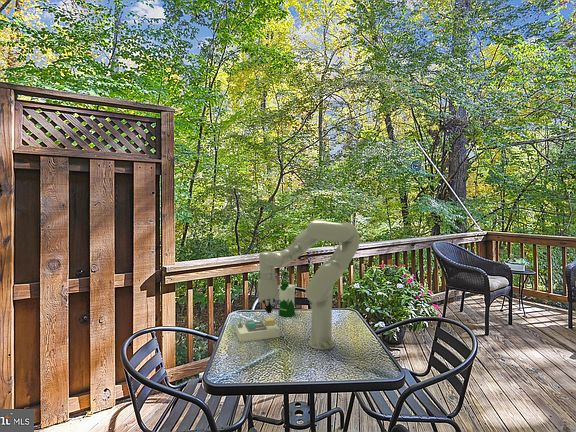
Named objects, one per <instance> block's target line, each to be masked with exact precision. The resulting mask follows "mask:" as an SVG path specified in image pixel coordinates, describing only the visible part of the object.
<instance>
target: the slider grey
mask: <svg viewBox="0 0 576 432" xmlns="http://www.w3.org/2000/svg"><path fill="white" fill-rule="evenodd" d="M248 322H254V319H253V318H246V319H245V323H246V325H247V326H248Z"/></svg>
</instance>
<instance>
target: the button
mask: <svg viewBox="0 0 576 432" xmlns="http://www.w3.org/2000/svg"><path fill="white" fill-rule="evenodd" d="M264 324H265V325H266V326H272V325H275V324H276V321H275V318H274V317H265V318H264Z"/></svg>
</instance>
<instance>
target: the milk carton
mask: <svg viewBox="0 0 576 432" xmlns="http://www.w3.org/2000/svg"><path fill="white" fill-rule="evenodd" d="M295 291H296V285H295V284H289V282H288V281H284V282H281V284H280V285H278V292H279V296H278V297H279V300H278V307H279V309H278V314H279V315H278V316H279V317H283V316H284V318H288V317H289V318H291V317H292V316H295V315H296V312H295V311H296V310H295Z"/></svg>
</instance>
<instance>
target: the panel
mask: <svg viewBox="0 0 576 432" xmlns="http://www.w3.org/2000/svg"><path fill="white" fill-rule="evenodd" d="M242 319H243V317H242V316H239V320H238V321H239V322H238V324H235V334H236V336H237V339H238V340H239V343H244V342H251V341H258V340H266V339H274V338H280V337H281V336H280V335H281V328H280V327H278V325H277V323H275V325H272V326H266V325H265V324H264V322H263V321H256V322H255V321H254V322H255V329H249V328H248V326H247V325H246V322H245V324H243V323H242V321H243V320H242Z"/></svg>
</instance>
